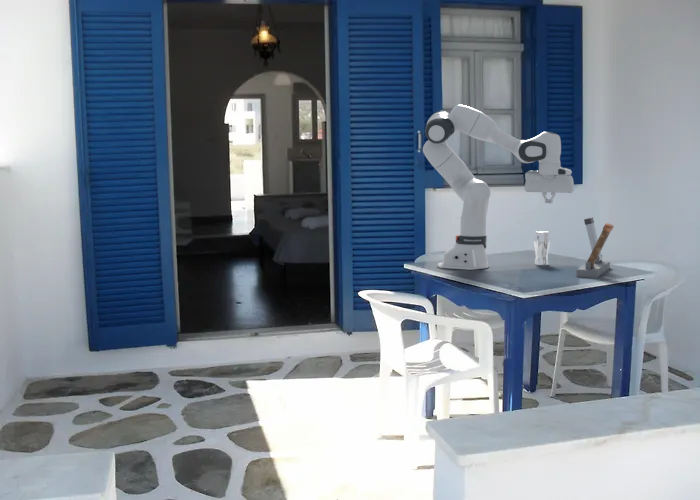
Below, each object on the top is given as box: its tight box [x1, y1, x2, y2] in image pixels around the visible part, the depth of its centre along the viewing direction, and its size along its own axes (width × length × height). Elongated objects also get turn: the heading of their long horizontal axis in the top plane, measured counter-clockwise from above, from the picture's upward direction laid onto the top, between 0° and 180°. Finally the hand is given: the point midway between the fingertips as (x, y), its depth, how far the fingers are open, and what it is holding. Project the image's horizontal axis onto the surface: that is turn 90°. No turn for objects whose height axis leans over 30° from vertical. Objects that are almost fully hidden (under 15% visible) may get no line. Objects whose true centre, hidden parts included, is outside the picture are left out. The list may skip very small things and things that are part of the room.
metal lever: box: [583, 217, 603, 262], centre depth 325 cm, size 3×5×19 cm, turn 151°
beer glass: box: [533, 230, 551, 266], centre depth 339 cm, size 7×7×15 cm
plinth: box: [576, 254, 611, 279], centre depth 317 cm, size 8×30×6 cm, turn 151°
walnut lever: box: [586, 222, 615, 267], centre depth 306 cm, size 3×5×19 cm, turn 152°
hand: (548, 203), depth 318 cm, fingers closed
